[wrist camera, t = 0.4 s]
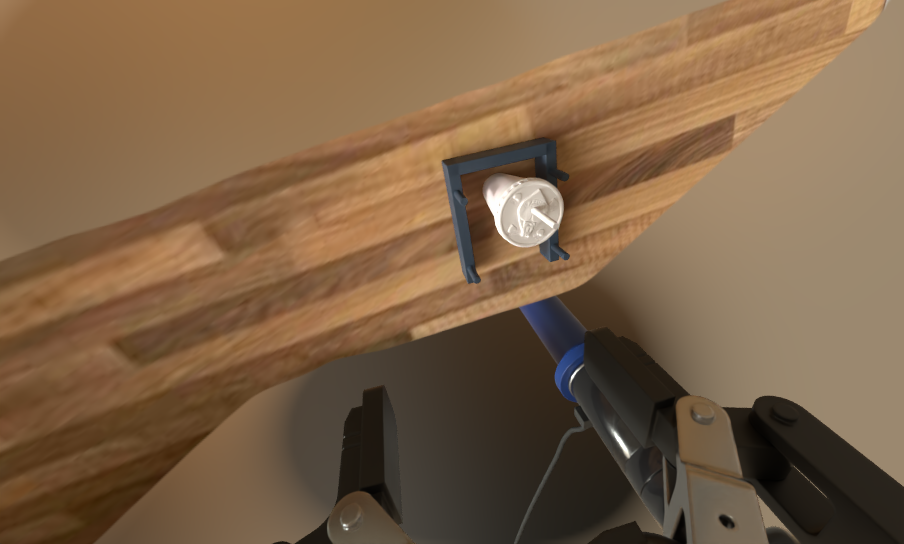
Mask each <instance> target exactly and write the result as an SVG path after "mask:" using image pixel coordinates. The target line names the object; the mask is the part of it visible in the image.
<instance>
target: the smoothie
mask: <svg viewBox="0 0 904 544" xmlns="http://www.w3.org/2000/svg"><path fill="white" fill-rule="evenodd" d="M482 192H483V196H484V198H485V200H486V202H487V204H488V206H489V208H490V210H491V212H492V213H493V215H494V217H495V224H496V227H497V230H498V232H499V233H500V235H501V236H502V237H503V238H504V239H506V240H507V241H508V242H509V243H511V244H513V245H515V246H518V247H532V246H536V245H538V244H541V243H543V242H544V241H546V240H547V239H548V238H550V237H551V236H552V235H553V234H554V232H555V231H556V230H557V229H558V228H559V226H560V223H561V220H562V217H563V213H564V203H563V199H562V196H561V194H560V192H559V191H558V189H557V188H556V187H555V186H553V185H552V184H550V183H549V182H548V181H546V180H543V179H540V178H521V177H517V176H513V175H508V174H504V173H495V174H493V175H491V176H489V177H488V178H487V179H486V181H485V182H484V185H483V189H482Z"/></svg>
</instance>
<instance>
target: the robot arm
mask: <svg viewBox="0 0 904 544" xmlns="http://www.w3.org/2000/svg"><path fill="white" fill-rule="evenodd" d="M583 360H584V361H583V362H582V363H580V364H579V365H578V366H577V367H576V368H575V369H574V370H573V372H572V373H571V375H570V377H569V380H568V389H569V391H570V392H571V394H572V395H573V396H574V397H575V399H576V400H577V402H578V403H579V405H580V406H578V407H575V416H576V418H577V419H578V421H579V423H580V424H581V426H580V427H572V428H570V429H569V430H568V431H567V432H566V433H565V435H564V436H563V438H562V439H561V442H560V444H559V446H558V449H557V452H556V454H555V456H554V458H553V460H552V462H551V464H550V466H549V468H548V470H547V472H546V474H545V476H544V477H543V479H542V481H541V483H540V485H539V487H538V490H537V492H536V494H535V496H534V498H533V500H532V502H531V504H530V506H529V508H528V511H527V513H526V515H525V517H524V520H523V522H522V525H521V527H520V529H519V532H518V534H517V537H516V539H515V542H514V544H518V542H519V539H520V537H521V535H522V532H523V530H524V528H525V525H526V523H527V521H528V519H529V516H530V514H531V512H532V510H533V508H534V506H535V504H536V501H537V499H538V497H539V495H540V493H541V491H542V489H543V487H544V485H545V483H546V482H547V480H548V478H549V476H550V474H551V472H552V470H553V468H554V466H555V464H556V463H557V461H558V459H559V457H560V454H561V452H562V449H563V447H564V444H565V442H566V440H567V439H568V437H569V436H570V435H571V434H572V433H574V432H581V431H584V430H585V429H587V428H590V427H594V428H595V430H596V431H597V433H598V434H599V436H600V437H601V439H602V440H603V442H604V443H605V445H606V446H607V448H608V449H609V451H610V452H611V454H612V456H613V457H614V459H615V460H616V462H617V463H618V465H619V466H620V468H621V469H622V471H623V472H624V474H625V475H626V477H627V478H628V480H629V481H630V483H631V484H632V486H633V487H634V489H635V491H636V492H637V493H638V495H639V497H640V498H641V500H642V501H643V503H644V504H645V506H646V507H647V509H648V510H649V512H650V513H651V514H652V516H653V517H654V519H655V520H656V522H657V523H658V525H659V526H660V528H661V529H662V531H663V536H662V535H659V534H655V533H649V532H642V531H641V530H640V528H639V526H638V525H637V523H636V521H634V522H631V523H628V524H625V525H622V526H619V527H615V528H613V529H610V530H606V531H603V532H602V533H601V534H599V535H598V536H597V537H596V538H594V539H593V540H592V541H591V542H589V543H588V544H904V487H903V486H902V485H901V484H899V483H898V482H897V481H896V480H894V479H893V478H892V477H891V476H889V475H888V474H887V473H885V472H884V471H883V470H881V469H880V468H879V467H878V466H877V465H875V464H874V463H873V462H872V461H870V460H869V459H867V458H866V457H865V456H864V455H863V454H861V453H860V452H859V451H857V450H856V449H855V448H854V447H852V446H851V445H850V444H849V443H847V442H846V441H845V440H844V439H842V438H841V437H840V436H838V435H837V434H836V433H835V432H833V431H832V430H831V429H830V428H828V427H827V426H826V425H825V424H823V423H822V422H821V421H819V420H818V419H817V418H816V417H814V416H813V415H812V414H811V413H809V412H808V411H807V410H805V409H804V408H803V407H801V406H800V405H798V404H796V403H794V402H792V401H790V400H787V399H784V398H781V397H776V396H762V397H759V398H758V399H756V400H755V402H754V405H753V407H752V408H729V407H721V406H719V405H718V404H717V403H715V402H713V401H711V400H709V399H706V398H704V397H701V396H694V395H690V394H688V392H686V391H685V390H684V389H683V388H682V387H681V386H680V385H679V384H678V383H677V382H676V381H675V380H674V379H673V378H672V377H671V376H670V375H669V374H668V373H667V372H666V371H665V370H663V368H661V367H660V366H659V365H658V364H657V363H655V361H654V360H653V359H652V358H651V357H650V356H649V355H647V354H646V352H645V351H644V350H643V349H642V348H641V347H639V345H637V344H636V343H635V342H633V341H631V340H629V339H627V338H625V337H623V336H622V337H616V336H615V335H614V334H613V332H611V330H609V329H608V328H607V327H601V328H598V329H594V330H590V331H587V332H586V333H585V340H584V358H583ZM343 435H344V436H343V437H344V439H343V445H342V449H343V451H342V456H341V466H340V477H339V487H338V496H337V501H336V504H335V506H334V508H333V510H332V512H331V514H330V515H329V517H328V518H327V519H326V520H325V522H324V523H323V524H322V525H321V526H319V528H317V529H316V530H314V531H313V532H311V533H310V534H308V535H307V536H305V537H304V538H302V539H301V540H299V541H298V542H296V543H295V544H416V543H415V542H414V541H413V540H411V538H410V537H409V536H408V535H407V534H406V533H405V532H404V531H403V530H402V529H401V527H400V526H399V524H401V523H403V518H402V504H401V503H402V502H401V486H400V471H399V454H398V438H397V425H396V419H395V414H394V411H393V408H392V405H391V403H390V400H389V397H388V394H387V391H386V388H385V386H384V385H381V386H377V387H373V388H370V389H366V390H364V391H363V405H362V406H360V407H356V408H352V409H351V411H350V413H349V415H348V417H347V419H346V421H345V425H344V434H343ZM794 466H795V467H796V468H797V469H798V470H799V471H800V472H801V473H803V475H804V476H806V477H807V478H808V479H809V480H810V481H811V482H812V483H813V484H814V485H815V486H816V487H817V488H818V489H819V490H820V491H821V492H822V493H823V494H824V495H825V496H826V497H827V498H828V499H829V500H828V499H827V498H826V497H825V496H824V495H823V494H822V493H821V492H820V491H819V490H818V489H817V488H816V487H815V486H814V485H813V484H812V483H810V481H808V480H807V479H806V478H805V477H804V476H803V475H802V474H801V473H800V472H799V471H798V470H797V469H796V468H795V467H794ZM757 495H758V496H759V497H760V498H761V499H762V500H763V501H764V503H765V504H766V505H767V506H768V507H769V508H770V509H771V511H772V512H773V513H774V514H775V515H776V516H777V517H778V518H779V520H780V521H781V522H782V523H783V524H784V525H785V526H786V528H787V529H788V530H789V531H790V532H789V531H788V530H786V529H783V528H780V527H776V526H775V527H774V526H773V527H768V528H765V526H764V522H763V518H762V514H761V510H760V506H759V502H758V498H757ZM273 544H290V543H288V542H284V541H282V542H276V543H273Z"/></svg>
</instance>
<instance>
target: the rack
mask: <svg viewBox="0 0 904 544" xmlns="http://www.w3.org/2000/svg"><path fill="white" fill-rule="evenodd" d="M531 158H535V173H536V178H540V179H543V180H546V181H548V182H549V183H550V184H552V185H553V186H555V187H556V188H557V178H558V179H560V180H562V181H567V180H568V179H569V174H568V173H565V172H563V171H560V170H558V169H557V160H556V141H555V140H551V139H547V138H544V137H543V138H539V139H534V140H530V141H526V142H521V143H517V144H513V145H508V146H504V147H500V148H495V149H491V150H486V151H482V152H478V153H473V154H469V155H465V156H460V157H456V158H451V159H447V160H443V161H442V166H443V171H444V176H445V182H446V187H447V192H448V197H449V203H450V208H451V213H452V219H453V224H454V229H455V234H456V240H457V245H458V250H459V255H460V261H461V266H462V271H463V274H464V276H465V278H466V280H467V282H468V284H469V283H473V282H474V283H476V284H478V283H479V282H480V281H481V279H480V277H479V275H478V274H477V272H476V268H475V262H474V255H473V249H472V243H471V237H470V231H469V225H468V219H467V213H466V207H465V205H467V203H468V199H467V198H466V197H465V196H464V195H463V189H462V183H461V177H460V175H463V174H467V173H471V172H475V171H480V170H484V169H488V168H492V167H497V166H501V165H505V164H510V163H514V162H518V161H522V160H527V159H531ZM540 253H541V254H542V255H543V256H544V257H545V258H546V259H548V260H549V261H550V262H552V261H556V260H559V256H560V257H561V258H562V259H564V260H568V259H569V257H570V255H569V254H568V253H567V252H565V251H564V250H563V249H562V248H561V247H559V241H558V229H557V230H556V231H555V232H554V234H553V235H552V236H551V237H550V238H548V239H547V240H546V241H544V242H543V243H541V244H540Z"/></svg>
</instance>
